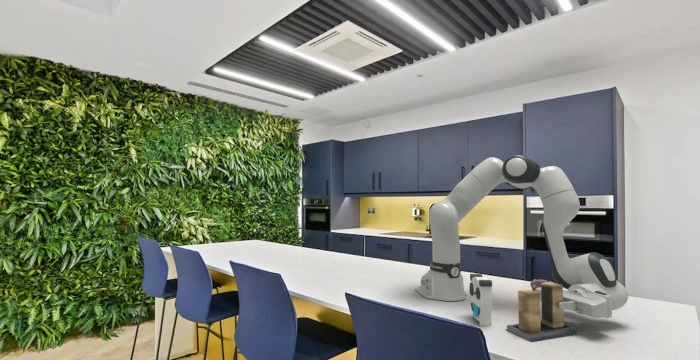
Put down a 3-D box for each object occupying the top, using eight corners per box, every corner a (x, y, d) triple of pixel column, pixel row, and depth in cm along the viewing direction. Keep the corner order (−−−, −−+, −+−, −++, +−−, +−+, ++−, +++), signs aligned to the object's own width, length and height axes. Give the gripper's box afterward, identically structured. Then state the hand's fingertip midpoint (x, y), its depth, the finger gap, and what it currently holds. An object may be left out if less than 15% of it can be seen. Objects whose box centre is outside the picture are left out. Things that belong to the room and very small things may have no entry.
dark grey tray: (504, 332, 104) (504, 324, 105) (549, 326, 111) (549, 317, 111) (532, 346, 95) (531, 336, 95) (579, 337, 101) (579, 328, 101)
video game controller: (530, 294, 154) (528, 281, 152) (533, 288, 157) (530, 275, 155) (556, 298, 147) (554, 285, 145) (558, 292, 151) (556, 278, 149)
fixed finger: (518, 331, 103) (518, 290, 103) (530, 330, 104) (529, 289, 105) (530, 337, 99) (529, 293, 99) (541, 335, 100) (540, 292, 101)
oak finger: (541, 323, 106) (540, 283, 106) (552, 322, 107) (550, 282, 108) (552, 328, 102) (551, 286, 102) (563, 326, 103) (562, 285, 104)
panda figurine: (458, 317, 118) (458, 272, 119) (493, 318, 117) (492, 273, 118) (469, 331, 106) (468, 280, 107) (507, 332, 105) (506, 281, 106)
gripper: (553, 281, 119) (521, 284, 114) (616, 297, 100) (582, 301, 95) (554, 300, 119) (522, 303, 114) (617, 319, 100) (582, 325, 95)
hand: (550, 302), depth 105 cm, fingers closed on oak finger, 4 cm apart
